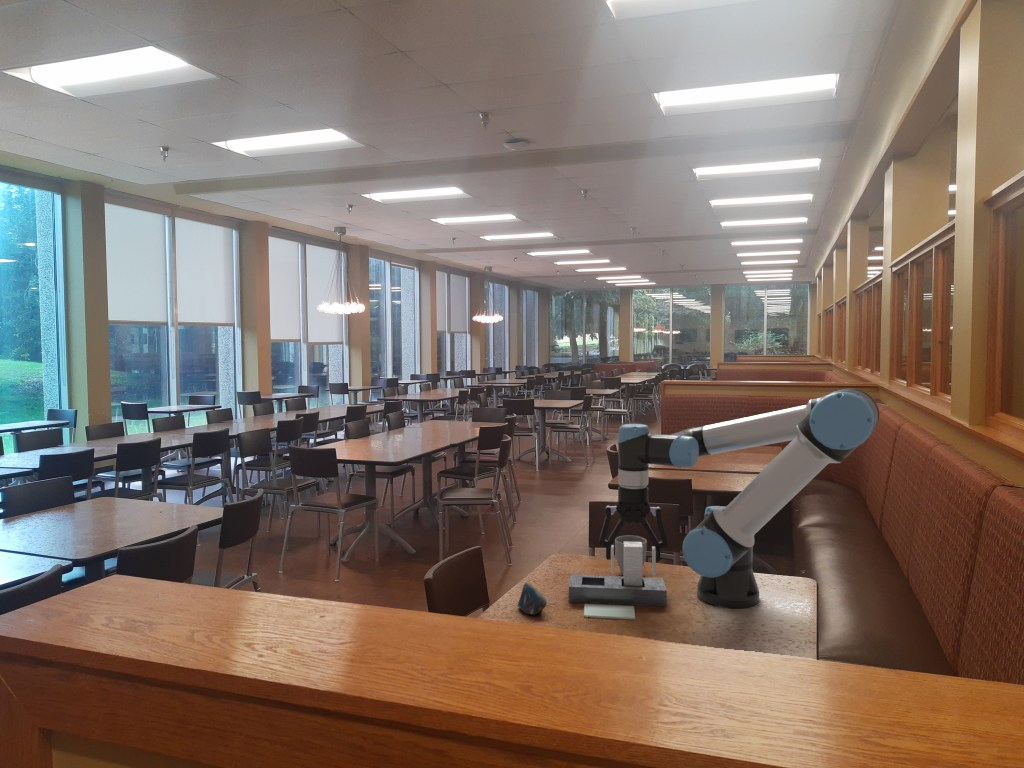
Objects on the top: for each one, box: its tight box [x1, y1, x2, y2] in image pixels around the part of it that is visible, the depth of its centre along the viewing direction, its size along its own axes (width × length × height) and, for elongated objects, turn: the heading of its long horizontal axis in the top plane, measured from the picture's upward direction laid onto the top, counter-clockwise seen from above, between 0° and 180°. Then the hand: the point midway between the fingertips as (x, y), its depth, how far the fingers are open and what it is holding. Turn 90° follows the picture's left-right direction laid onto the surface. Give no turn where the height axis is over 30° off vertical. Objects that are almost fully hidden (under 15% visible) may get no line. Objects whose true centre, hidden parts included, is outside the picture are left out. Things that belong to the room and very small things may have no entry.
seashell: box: [517, 582, 547, 616], centre depth 167 cm, size 6×9×10 cm
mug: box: [614, 534, 648, 576], centre depth 191 cm, size 12×9×10 cm
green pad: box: [583, 603, 636, 621], centre depth 165 cm, size 12×7×1 cm, turn 82°
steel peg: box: [623, 541, 643, 587], centre depth 174 cm, size 4×4×14 cm
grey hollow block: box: [568, 574, 668, 607], centre depth 175 cm, size 24×9×4 cm, turn 82°
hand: (632, 572), depth 174 cm, fingers open, 10 cm apart
